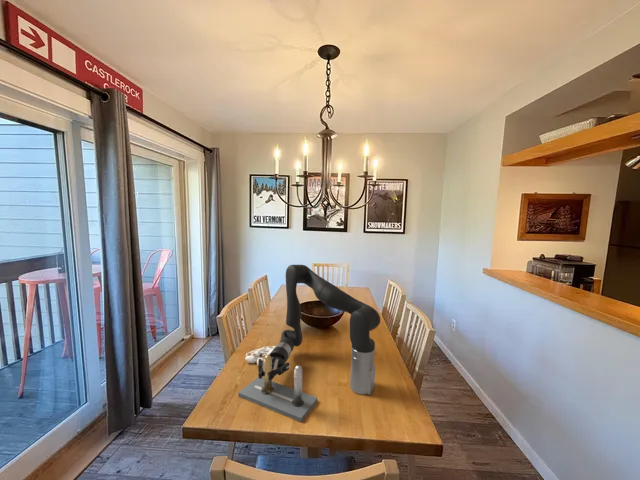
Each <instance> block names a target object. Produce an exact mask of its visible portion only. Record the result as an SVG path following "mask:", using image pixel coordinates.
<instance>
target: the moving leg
mask: <svg viewBox="0 0 640 480" xmlns="http://www.w3.org/2000/svg"><path fill="white" fill-rule="evenodd" d="M262 358H263V366H262V367H263V377H262V378H263V387H262V391H264V392H267V393H271V392H272V391H273V390H274V388H273V387H272V381H273V379H271V380H269V374H270V372H271V371H272V370H273V369H272V357H271V356H270V355H265V356H263V357H262Z"/></svg>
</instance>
